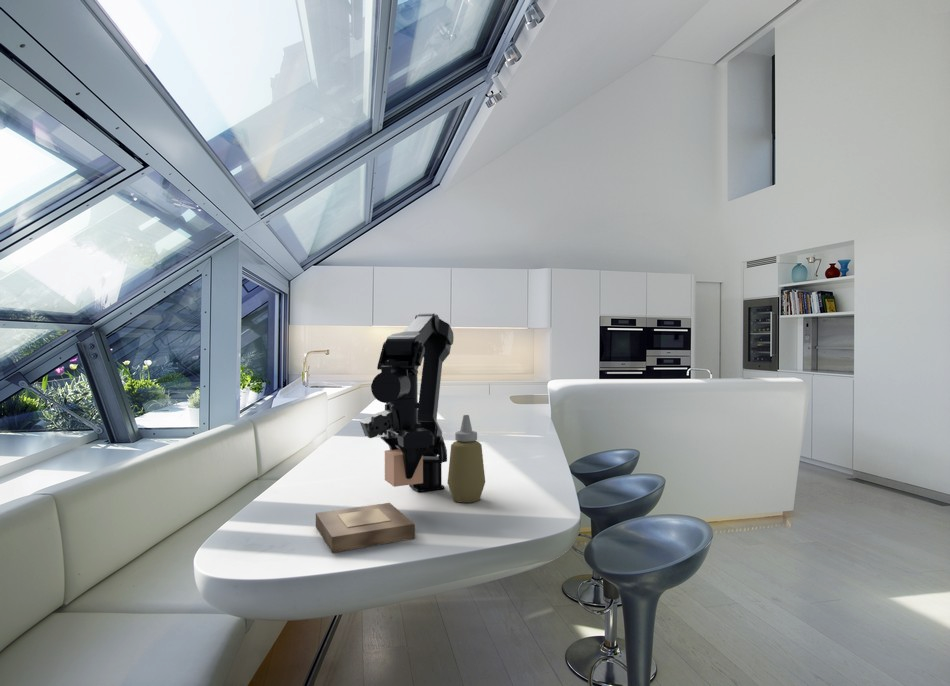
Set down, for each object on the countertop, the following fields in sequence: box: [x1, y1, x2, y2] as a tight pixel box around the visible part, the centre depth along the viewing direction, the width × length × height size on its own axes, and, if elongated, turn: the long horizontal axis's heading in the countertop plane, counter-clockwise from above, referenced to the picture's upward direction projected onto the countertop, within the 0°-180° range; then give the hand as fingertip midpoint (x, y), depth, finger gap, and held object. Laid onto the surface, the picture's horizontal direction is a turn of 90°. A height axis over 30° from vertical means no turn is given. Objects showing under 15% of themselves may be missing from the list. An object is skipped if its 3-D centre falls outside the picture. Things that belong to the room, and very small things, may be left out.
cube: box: [384, 449, 423, 488], centre depth 110 cm, size 6×6×6 cm
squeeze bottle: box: [447, 414, 486, 503], centre depth 117 cm, size 8×8×18 cm
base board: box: [315, 502, 416, 554], centre depth 96 cm, size 14×14×3 cm
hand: (403, 475), depth 110 cm, fingers closed on cube, 6 cm apart
